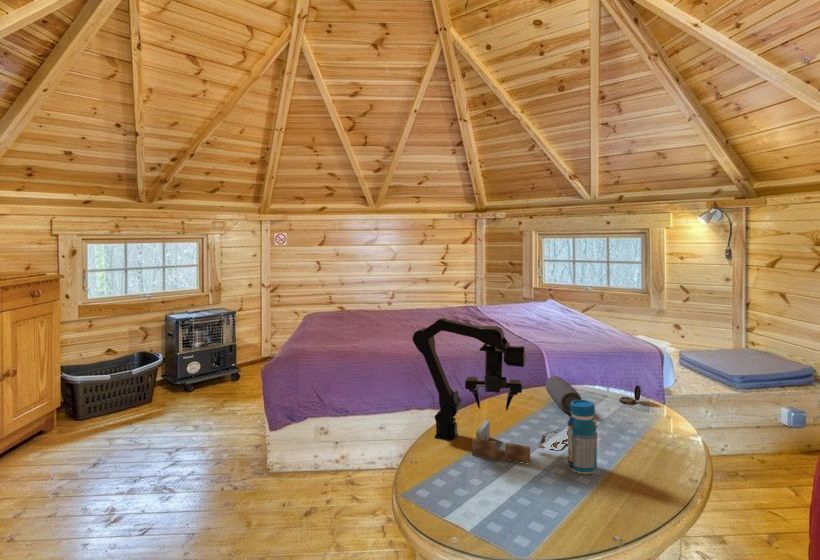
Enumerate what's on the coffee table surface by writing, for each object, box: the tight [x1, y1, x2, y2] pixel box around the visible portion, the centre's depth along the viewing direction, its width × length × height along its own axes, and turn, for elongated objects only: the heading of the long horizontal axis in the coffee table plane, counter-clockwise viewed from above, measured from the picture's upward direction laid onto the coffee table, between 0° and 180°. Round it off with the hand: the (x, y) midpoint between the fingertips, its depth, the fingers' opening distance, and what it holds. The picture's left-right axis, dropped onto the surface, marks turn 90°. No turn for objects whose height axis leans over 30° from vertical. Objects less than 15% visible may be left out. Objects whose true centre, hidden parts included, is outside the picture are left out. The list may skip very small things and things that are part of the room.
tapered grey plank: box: [475, 419, 491, 440], centre depth 162 cm, size 2×12×6 cm, turn 156°
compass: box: [618, 384, 642, 405], centre depth 198 cm, size 8×8×7 cm
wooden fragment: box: [538, 429, 568, 449], centre depth 165 cm, size 26×11×1 cm, turn 131°
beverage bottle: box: [567, 399, 599, 475], centre depth 142 cm, size 8×8×20 cm
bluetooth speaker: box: [544, 375, 583, 414], centre depth 196 cm, size 23×9×10 cm, turn 179°
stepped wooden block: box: [471, 437, 531, 464], centre depth 150 cm, size 18×2×5 cm, turn 66°
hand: (492, 409), depth 163 cm, fingers open, 9 cm apart
